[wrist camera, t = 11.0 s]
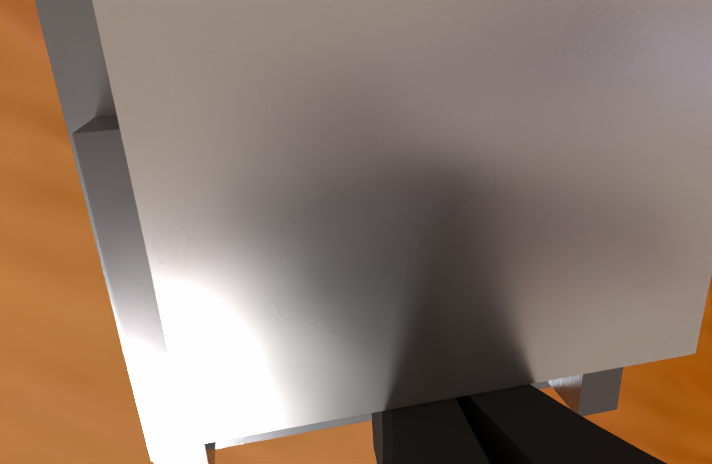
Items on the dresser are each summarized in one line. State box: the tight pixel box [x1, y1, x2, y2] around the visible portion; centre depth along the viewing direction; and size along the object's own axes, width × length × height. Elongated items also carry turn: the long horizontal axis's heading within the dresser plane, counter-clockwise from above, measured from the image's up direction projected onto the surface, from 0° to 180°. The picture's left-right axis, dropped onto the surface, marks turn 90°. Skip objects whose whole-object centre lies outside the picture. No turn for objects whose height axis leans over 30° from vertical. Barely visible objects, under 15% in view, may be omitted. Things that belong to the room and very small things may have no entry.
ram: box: [92, 0, 712, 446], centre depth 7 cm, size 6×6×4 cm
